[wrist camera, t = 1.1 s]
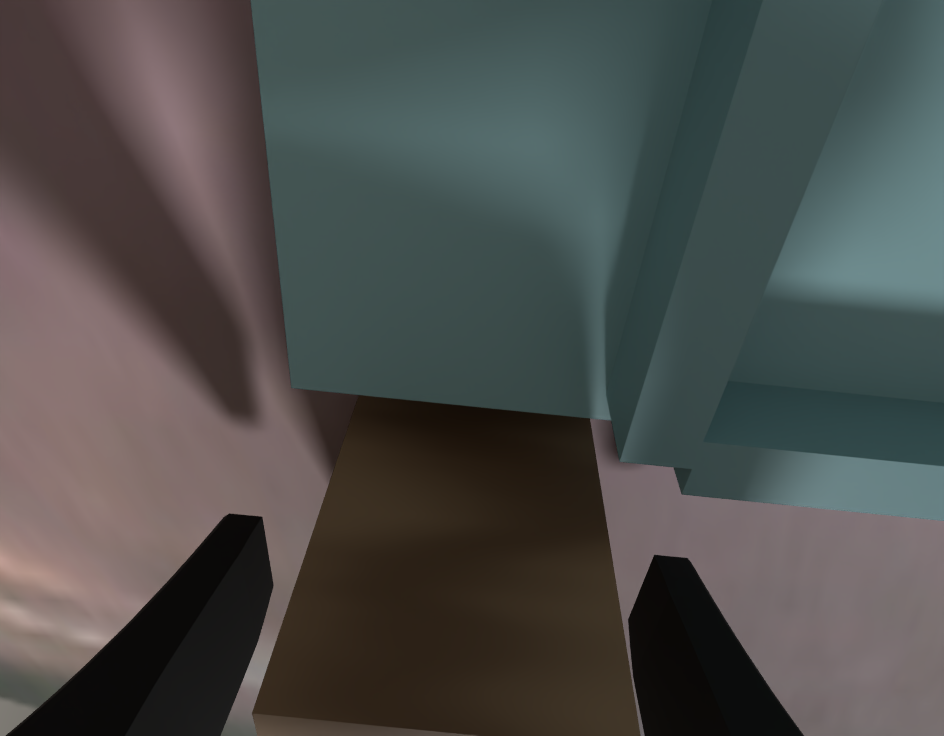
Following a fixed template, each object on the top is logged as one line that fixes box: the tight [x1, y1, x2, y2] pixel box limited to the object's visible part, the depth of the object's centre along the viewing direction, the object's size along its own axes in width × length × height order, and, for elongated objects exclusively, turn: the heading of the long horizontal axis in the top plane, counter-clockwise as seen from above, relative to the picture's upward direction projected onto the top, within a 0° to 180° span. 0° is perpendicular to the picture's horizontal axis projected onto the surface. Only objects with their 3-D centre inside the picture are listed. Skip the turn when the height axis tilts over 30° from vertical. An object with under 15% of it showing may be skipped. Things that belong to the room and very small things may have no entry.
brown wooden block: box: [252, 395, 640, 736], centre depth 11 cm, size 4×4×6 cm
